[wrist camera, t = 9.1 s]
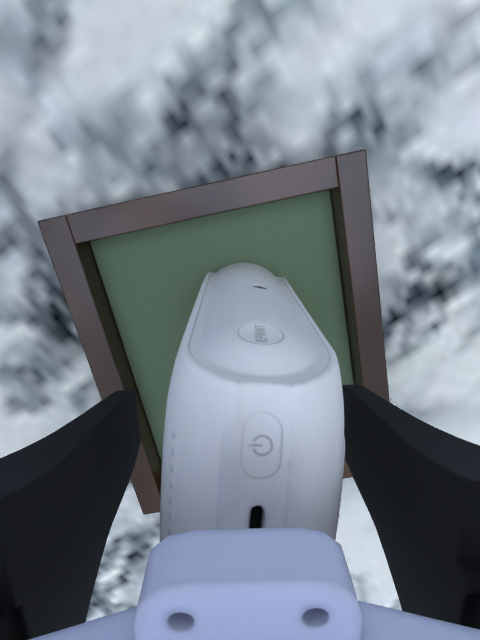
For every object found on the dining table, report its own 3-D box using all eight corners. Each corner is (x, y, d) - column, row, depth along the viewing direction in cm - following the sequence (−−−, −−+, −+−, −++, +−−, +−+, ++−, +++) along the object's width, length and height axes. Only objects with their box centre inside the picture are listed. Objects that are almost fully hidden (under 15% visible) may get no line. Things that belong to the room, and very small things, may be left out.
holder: (151, 485, 22) (143, 515, 20) (60, 218, 18) (36, 221, 15) (380, 443, 22) (396, 469, 20) (349, 154, 17) (366, 148, 15)
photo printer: (199, 255, 17) (132, 381, 6) (292, 261, 18) (412, 395, 6) (192, 446, 21) (140, 777, 9) (271, 449, 21) (322, 779, 9)
